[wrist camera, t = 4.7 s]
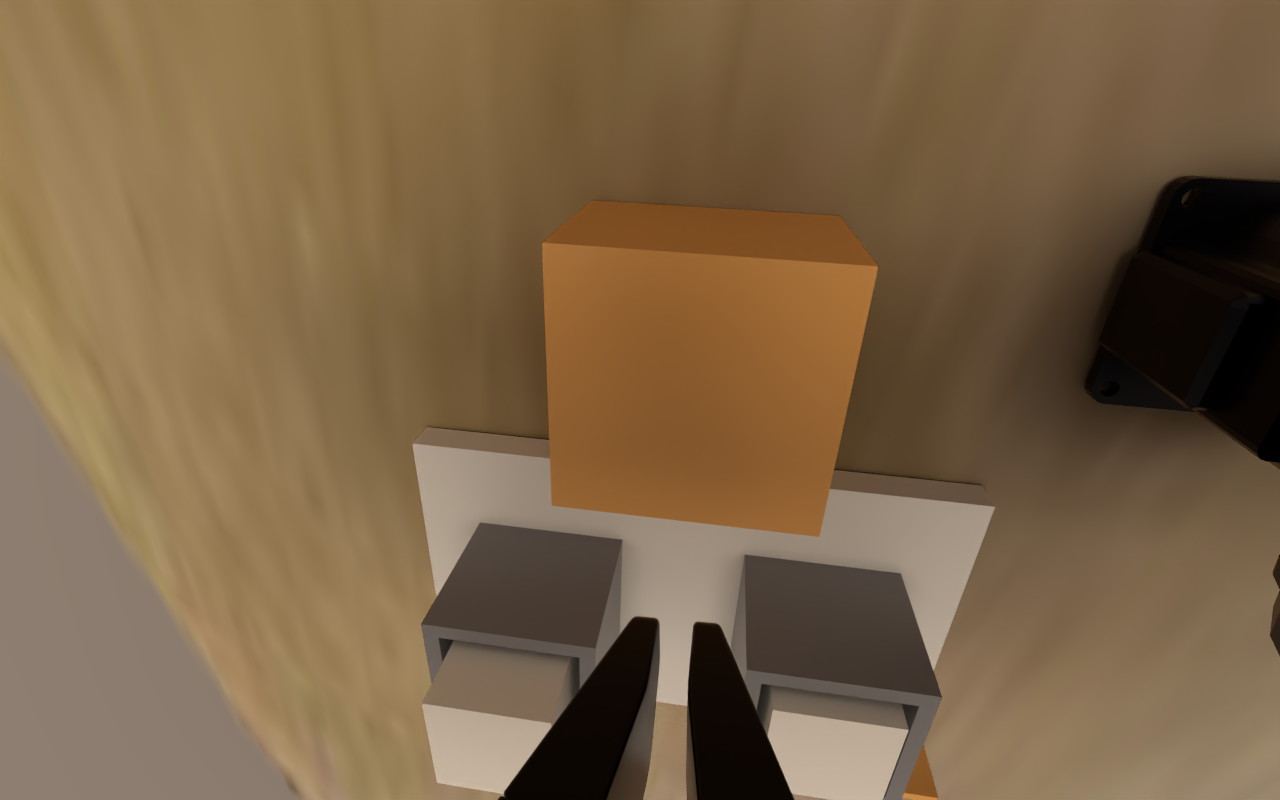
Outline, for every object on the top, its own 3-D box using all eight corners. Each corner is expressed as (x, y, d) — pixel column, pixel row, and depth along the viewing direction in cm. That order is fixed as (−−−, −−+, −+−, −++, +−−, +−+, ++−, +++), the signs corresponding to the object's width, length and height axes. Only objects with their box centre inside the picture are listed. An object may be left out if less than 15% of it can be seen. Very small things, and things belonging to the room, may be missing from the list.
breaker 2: (879, 621, 21) (908, 730, 18) (857, 695, 23) (879, 807, 19) (766, 606, 21) (772, 710, 18) (753, 680, 23) (756, 787, 20)
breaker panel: (982, 485, 21) (1067, 626, 16) (901, 712, 27) (943, 874, 21) (426, 427, 23) (332, 532, 18) (458, 649, 29) (394, 781, 23)
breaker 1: (582, 614, 21) (551, 723, 17) (583, 689, 23) (555, 802, 19) (474, 599, 21) (421, 703, 18) (482, 675, 23) (437, 782, 19)
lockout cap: (840, 215, 18) (878, 266, 13) (800, 432, 21) (819, 537, 16) (592, 200, 19) (542, 242, 14) (592, 412, 22) (551, 505, 17)
